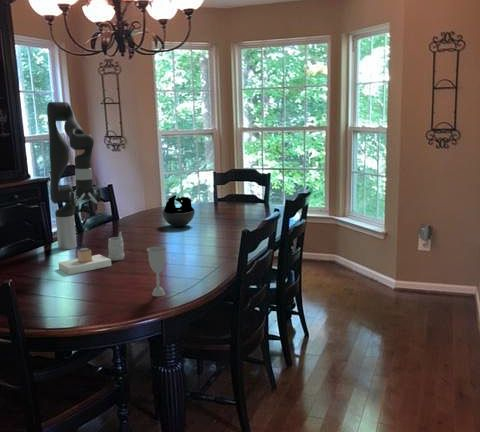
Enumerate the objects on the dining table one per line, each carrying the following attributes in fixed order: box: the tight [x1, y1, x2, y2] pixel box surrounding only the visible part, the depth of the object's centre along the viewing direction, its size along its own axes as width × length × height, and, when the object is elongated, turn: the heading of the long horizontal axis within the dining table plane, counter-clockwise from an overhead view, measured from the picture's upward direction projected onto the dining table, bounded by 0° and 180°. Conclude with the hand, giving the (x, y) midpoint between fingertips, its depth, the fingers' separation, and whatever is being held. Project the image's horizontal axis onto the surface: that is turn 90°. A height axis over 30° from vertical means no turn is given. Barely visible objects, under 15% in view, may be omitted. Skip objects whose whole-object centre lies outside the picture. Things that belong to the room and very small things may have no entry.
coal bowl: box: [161, 194, 196, 228], centre depth 316 cm, size 20×20×19 cm
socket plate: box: [57, 254, 112, 275], centre depth 235 cm, size 12×20×3 cm, turn 130°
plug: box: [76, 247, 93, 264], centre depth 234 cm, size 5×5×9 cm
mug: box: [107, 231, 126, 262], centre depth 249 cm, size 8×12×12 cm, turn 169°
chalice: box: [146, 246, 167, 297], centre depth 196 cm, size 7×7×18 cm
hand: (86, 212), depth 239 cm, fingers open, 8 cm apart
